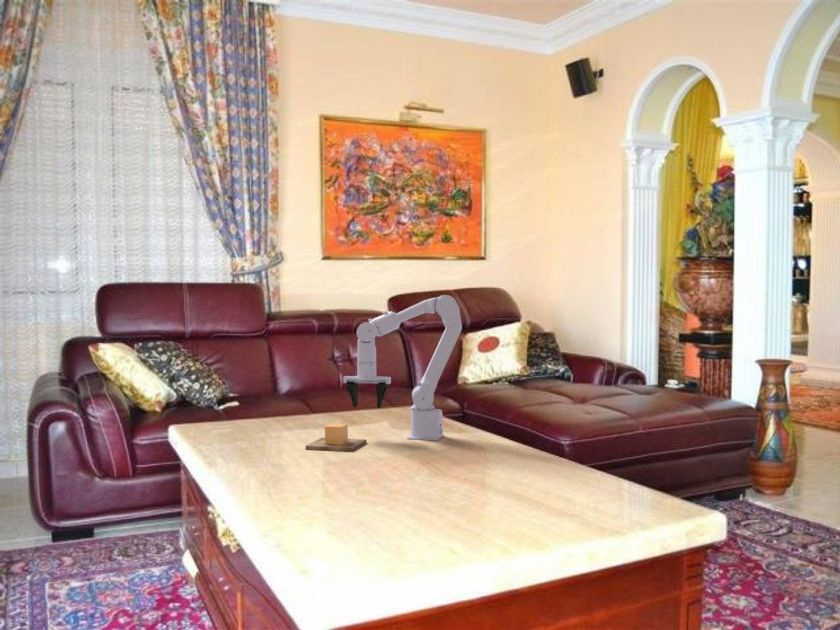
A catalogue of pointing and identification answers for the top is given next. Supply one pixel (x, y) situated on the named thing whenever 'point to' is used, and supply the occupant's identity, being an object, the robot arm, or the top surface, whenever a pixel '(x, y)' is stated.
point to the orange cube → (336, 434)
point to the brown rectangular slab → (348, 446)
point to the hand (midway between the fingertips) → (367, 407)
